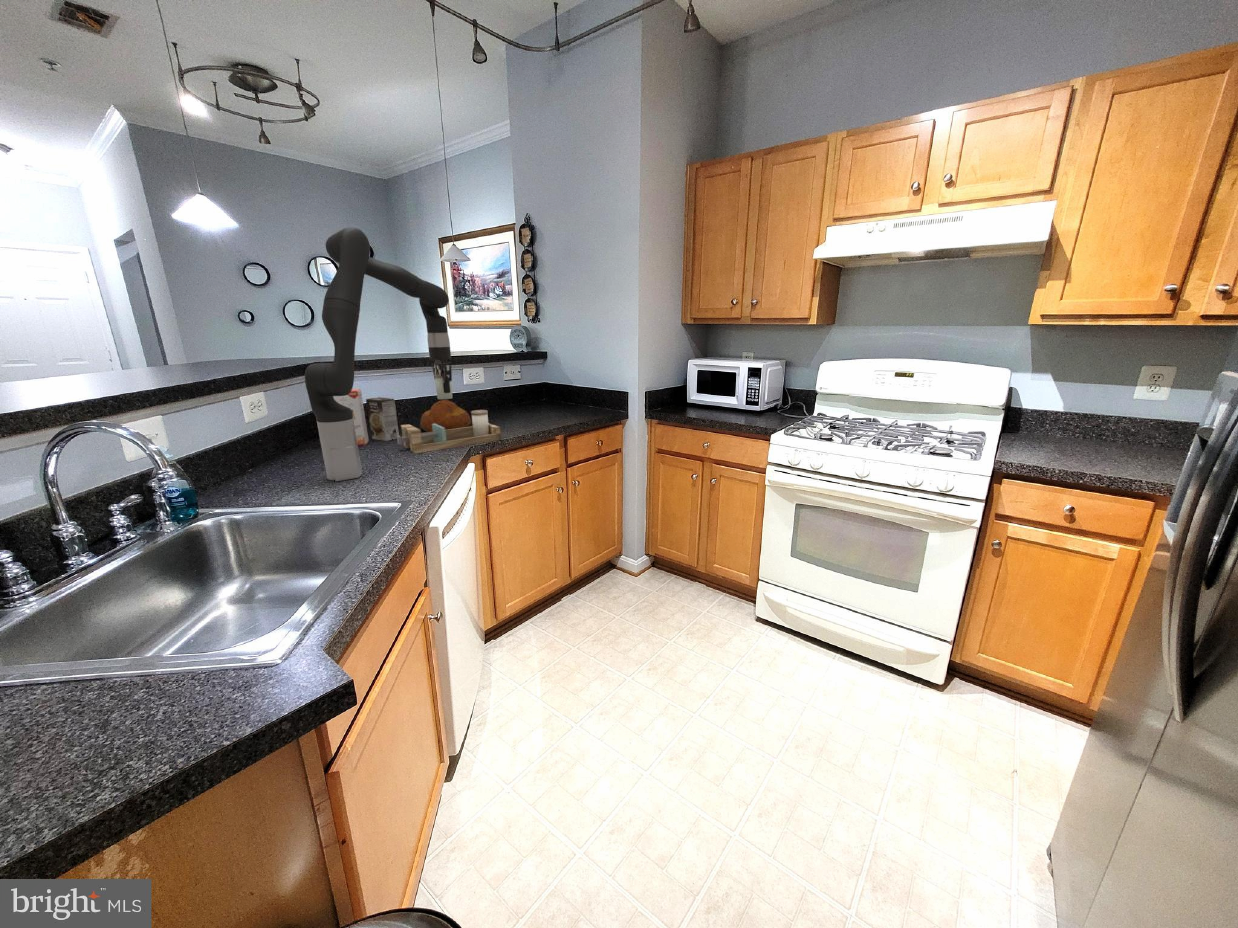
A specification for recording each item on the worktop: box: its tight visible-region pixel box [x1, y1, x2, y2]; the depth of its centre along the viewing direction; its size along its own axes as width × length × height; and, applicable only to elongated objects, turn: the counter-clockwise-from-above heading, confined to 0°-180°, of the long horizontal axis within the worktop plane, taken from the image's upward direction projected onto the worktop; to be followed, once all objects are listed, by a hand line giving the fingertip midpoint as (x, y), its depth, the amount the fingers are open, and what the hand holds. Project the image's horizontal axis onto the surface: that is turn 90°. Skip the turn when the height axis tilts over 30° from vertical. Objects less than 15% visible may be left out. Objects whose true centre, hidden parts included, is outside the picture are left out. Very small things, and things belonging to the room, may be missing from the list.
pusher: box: [396, 424, 446, 446], centre depth 176 cm, size 11×15×7 cm
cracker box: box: [333, 388, 370, 446], centre depth 181 cm, size 14×6×21 cm, turn 105°
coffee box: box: [365, 397, 400, 442], centre depth 191 cm, size 9×6×16 cm
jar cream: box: [470, 409, 489, 437], centre depth 189 cm, size 6×6×11 cm
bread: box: [419, 399, 472, 432], centre depth 211 cm, size 21×33×12 cm, turn 3°
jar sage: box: [433, 374, 453, 400], centre depth 179 cm, size 6×6×9 cm
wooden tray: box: [400, 422, 502, 454], centre depth 183 cm, size 14×33×8 cm, turn 128°
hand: (444, 392), depth 180 cm, fingers closed on jar sage, 5 cm apart
